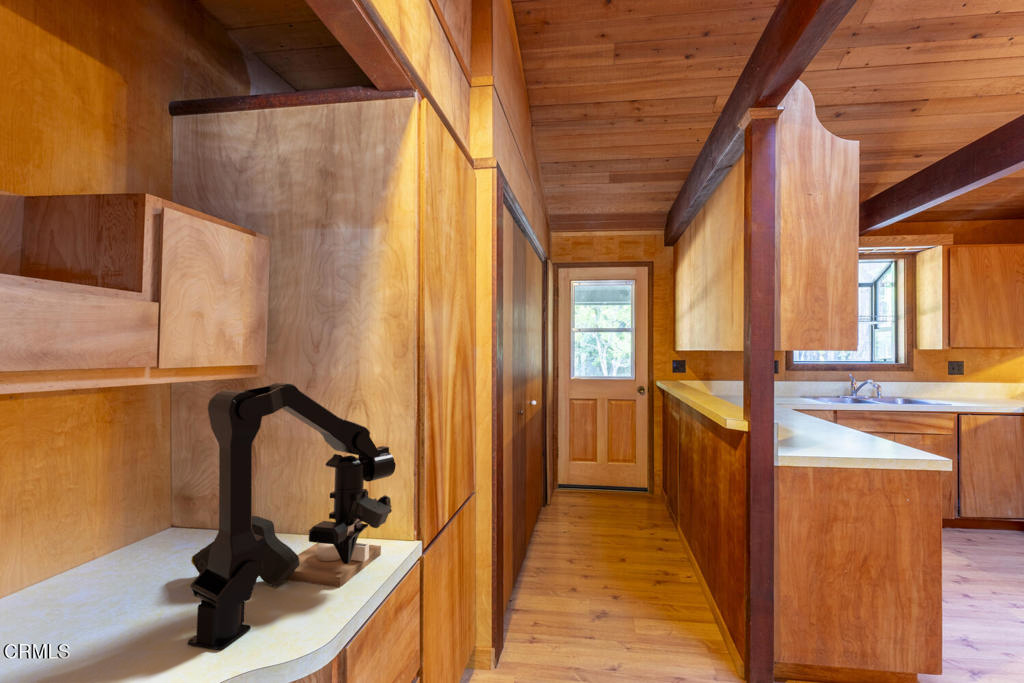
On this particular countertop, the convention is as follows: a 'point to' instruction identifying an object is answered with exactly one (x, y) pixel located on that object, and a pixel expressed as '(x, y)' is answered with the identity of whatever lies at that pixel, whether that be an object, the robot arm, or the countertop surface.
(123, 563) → the countertop surface
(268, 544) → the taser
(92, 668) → the countertop surface
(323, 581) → the panel
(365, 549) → the cream elongated piece
